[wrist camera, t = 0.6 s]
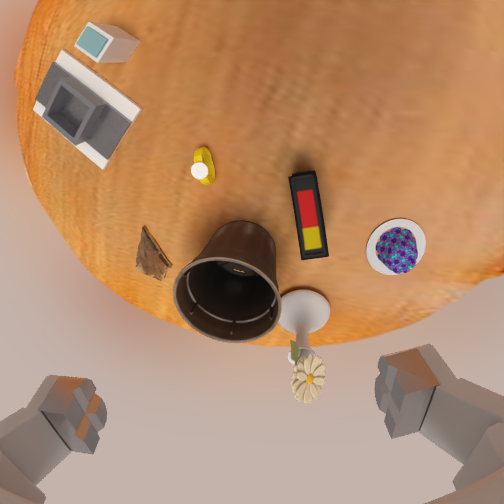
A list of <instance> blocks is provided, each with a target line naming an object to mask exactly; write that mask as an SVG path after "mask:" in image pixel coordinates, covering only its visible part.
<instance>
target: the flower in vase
mask: <svg viewBox="0 0 504 504" xmlns="http://www.w3.org/2000/svg"><path fill="white" fill-rule="evenodd" d="M281 301H282V312H281V317H280V319H279V321H278V323H279V324H280V325H281V326H282V327H283V328H284V329H286V330H288V331H290V332H293V333H296V342H294V341H292V340H290V341H291V351H290V352H289V354H288V360H289V361H290V362H291V363H292V364H294V365H295V367H294V371H295V372H294V373H293V374H292V378H293V379H292V380H291V385H293V389H292V391H293V393H295V398H297V401H299V402H301V401H302V399H303V400H304V403H307V402H308V403H311V402H312V399H313V397H314V399H317V398H318V395H319V394H320V393H321V389H322V387H321V385H324V384H325V379H324V377H325V373H326V371H325V368H326V365H325V364H322V358H319V357H318V356H317V355H316V354H315V352H314V351H313V350H312V349H311V348H310V345H309V341H308V333H312V332H314V331H317V330H318V329H320V328H321V327H323V326H324V325H325V324H326V322H327V321H328V319H329V316H330V305H329V303H328V301H327V300H326V299H325V298H324V297H323V296H322V295H320V294H319V293H317V292H314V291H311V290H295V291H292V292H289V293H287V294H285V295H284V296H282V297H281ZM321 364H322V365H321Z"/></svg>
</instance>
